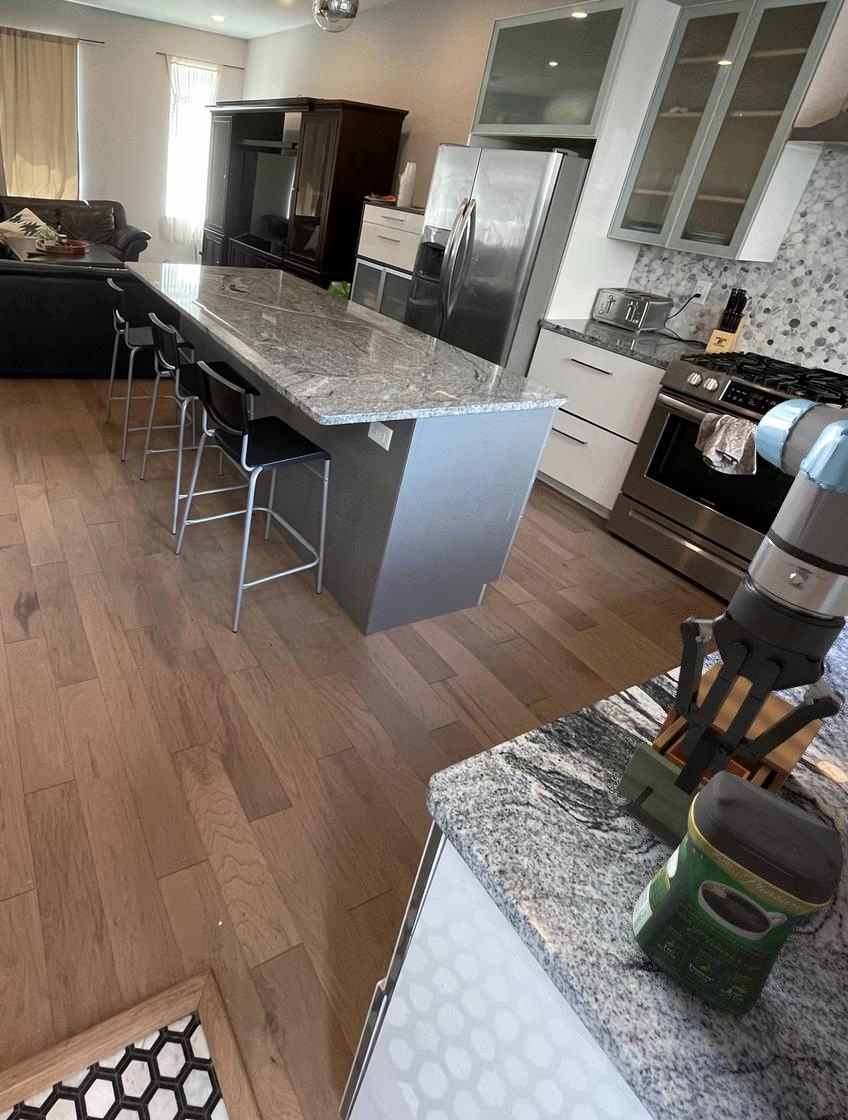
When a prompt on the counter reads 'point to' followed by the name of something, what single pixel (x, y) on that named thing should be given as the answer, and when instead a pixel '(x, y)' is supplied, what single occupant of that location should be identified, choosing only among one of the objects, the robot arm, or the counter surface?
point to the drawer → (667, 787)
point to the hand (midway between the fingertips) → (687, 783)
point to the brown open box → (680, 760)
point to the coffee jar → (735, 891)
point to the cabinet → (756, 726)
